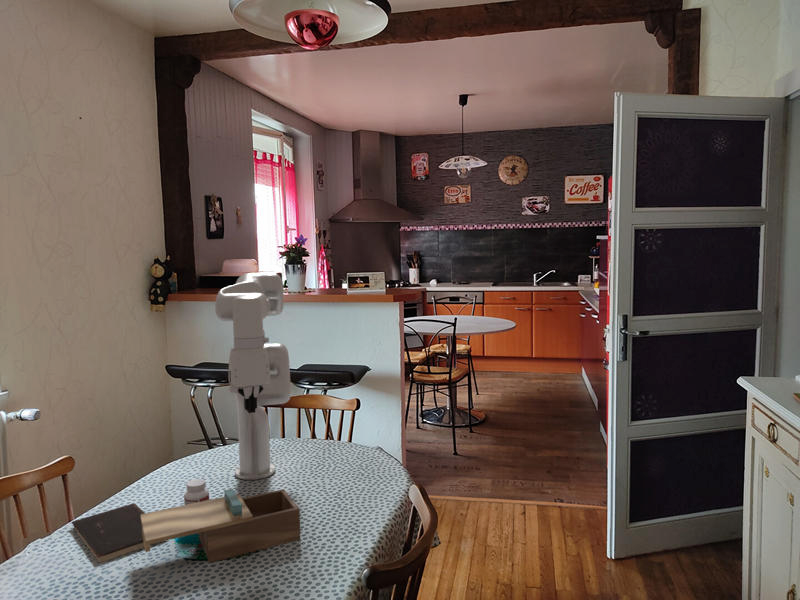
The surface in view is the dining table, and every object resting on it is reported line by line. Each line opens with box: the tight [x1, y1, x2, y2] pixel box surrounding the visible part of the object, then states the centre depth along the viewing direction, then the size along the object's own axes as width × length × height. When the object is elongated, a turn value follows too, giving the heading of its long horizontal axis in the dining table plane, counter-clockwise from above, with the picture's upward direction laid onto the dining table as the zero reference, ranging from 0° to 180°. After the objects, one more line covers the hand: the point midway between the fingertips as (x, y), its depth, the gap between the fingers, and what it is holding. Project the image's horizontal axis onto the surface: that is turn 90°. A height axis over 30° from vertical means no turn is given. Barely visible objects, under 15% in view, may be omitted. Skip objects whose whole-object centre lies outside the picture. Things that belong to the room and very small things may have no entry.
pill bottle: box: [183, 478, 210, 505], centre depth 152 cm, size 6×6×11 cm
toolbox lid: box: [140, 488, 253, 553], centre depth 137 cm, size 14×23×7 cm, turn 118°
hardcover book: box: [71, 503, 155, 563], centre depth 147 cm, size 16×23×2 cm
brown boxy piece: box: [198, 488, 301, 564], centre depth 143 cm, size 13×22×8 cm, turn 118°
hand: (250, 411), depth 152 cm, fingers closed
